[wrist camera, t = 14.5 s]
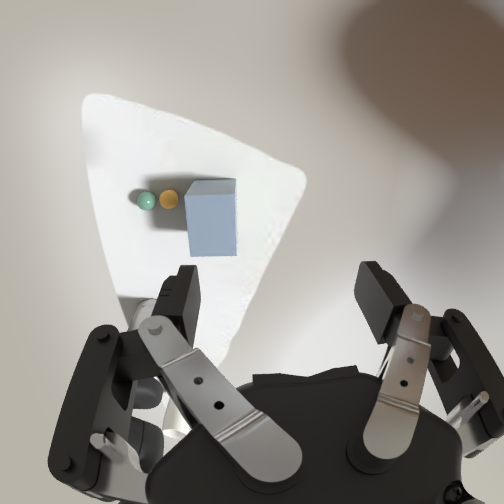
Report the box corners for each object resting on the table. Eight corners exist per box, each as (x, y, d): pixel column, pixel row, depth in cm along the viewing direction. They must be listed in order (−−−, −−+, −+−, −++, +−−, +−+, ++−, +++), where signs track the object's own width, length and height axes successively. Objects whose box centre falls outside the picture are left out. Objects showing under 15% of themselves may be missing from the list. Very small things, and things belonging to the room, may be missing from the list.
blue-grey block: (194, 180, 40) (184, 195, 33) (236, 178, 40) (234, 194, 33) (198, 232, 45) (190, 256, 38) (237, 231, 45) (236, 255, 38)
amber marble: (181, 204, 42) (177, 211, 40) (163, 205, 42) (158, 212, 39) (179, 186, 41) (175, 192, 38) (161, 188, 41) (155, 193, 38)
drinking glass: (169, 391, 68) (161, 436, 55) (169, 379, 65) (161, 427, 52) (192, 395, 69) (187, 440, 56) (194, 384, 66) (189, 432, 53)
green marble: (158, 206, 42) (153, 212, 39) (141, 207, 42) (135, 213, 39) (156, 188, 41) (150, 194, 38) (139, 189, 40) (132, 195, 38)
